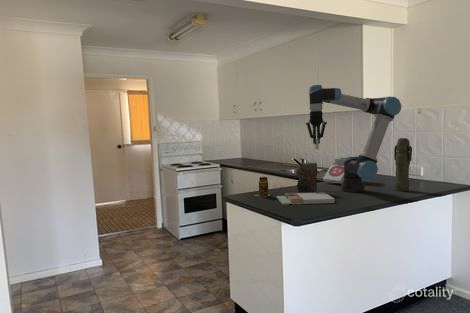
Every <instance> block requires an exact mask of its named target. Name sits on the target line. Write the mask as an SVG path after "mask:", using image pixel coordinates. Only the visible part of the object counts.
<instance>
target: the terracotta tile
mask: <svg viewBox="0 0 470 313" xmlns="http://www.w3.org/2000/svg"><path fill="white" fill-rule="evenodd" d="M288 200H289V201H290V202H303V198H301V197H300V196H288Z"/></svg>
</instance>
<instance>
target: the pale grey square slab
mask: <svg viewBox="0 0 470 313" xmlns="http://www.w3.org/2000/svg"><path fill="white" fill-rule="evenodd" d="M296 193H297V194H298V195H299V196H300V197H301V198H303V202H304V204H303V205H310V204H311V205H312V204H313V205H315V204H335V202H336V200H335V198H334V197H333V196H331V195H329V194H327V193H326V192H324V191H323V192H322V191H321V192H316V193H299V192H296Z"/></svg>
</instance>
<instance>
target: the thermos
mask: <svg viewBox="0 0 470 313" xmlns="http://www.w3.org/2000/svg"><path fill="white" fill-rule="evenodd" d="M410 143H411V142H410V140H409V139H408V137H406V138H405V137H403V138H402V137H400V138H398V139H397V142H396V145H394V153H393V156H394V161H395V163H394V164H395V179H394V184H393V185H394V191H396V192H409V191H410V189H409V188H410V179H409V177H410V176H409V174H410V166H411V161H412V156H413V155H412V154H413V146H411V144H410Z"/></svg>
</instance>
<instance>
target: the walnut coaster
mask: <svg viewBox="0 0 470 313" xmlns="http://www.w3.org/2000/svg"><path fill="white" fill-rule="evenodd" d="M297 193H298V192H285V193H284V196H285V197H286V198H287V199H288V196H299V195H298V194H297Z"/></svg>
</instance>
